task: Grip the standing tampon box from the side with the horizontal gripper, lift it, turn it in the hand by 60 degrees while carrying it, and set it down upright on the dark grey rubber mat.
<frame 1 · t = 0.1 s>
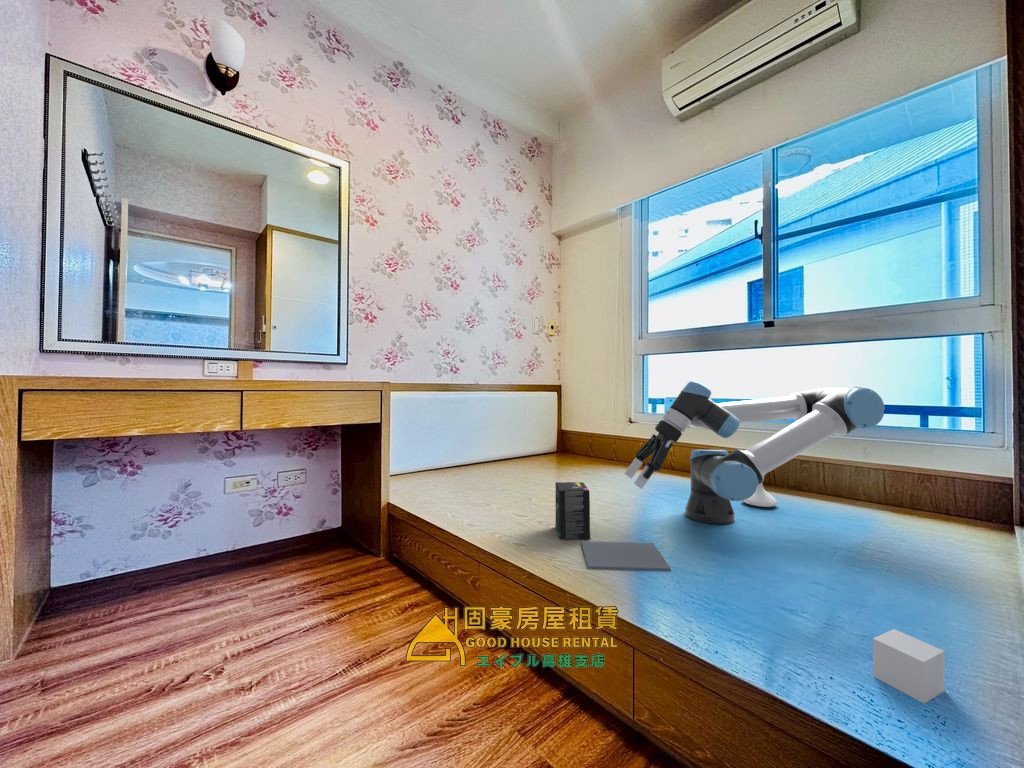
hand: (632, 480, 128), 15 cm above the table, tool tilted 35°, fingers open, 13 cm apart
flower in vase: (761, 505, 153), on the table
white rectangular block: (908, 685, 62), on the table
rubber mat: (622, 556, 108), on the table
tampon box: (572, 534, 125), on the table
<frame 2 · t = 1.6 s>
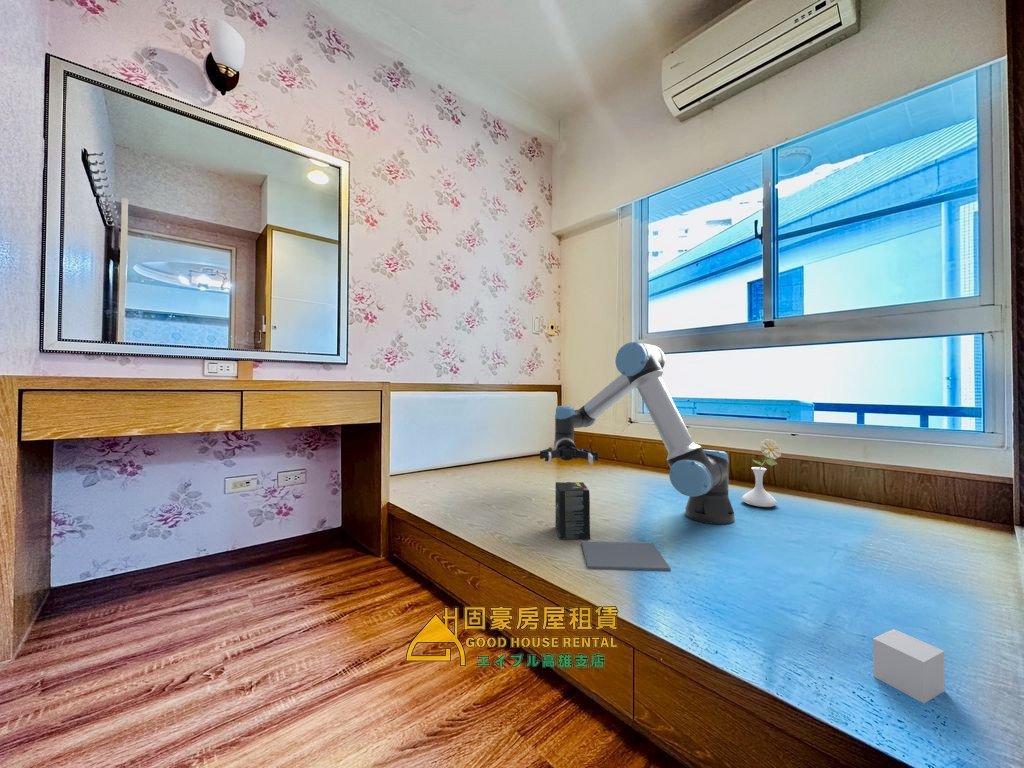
hand: (571, 460, 134), 21 cm above the table, tool horizontal, fingers open, 13 cm apart
nothing on the table moved.
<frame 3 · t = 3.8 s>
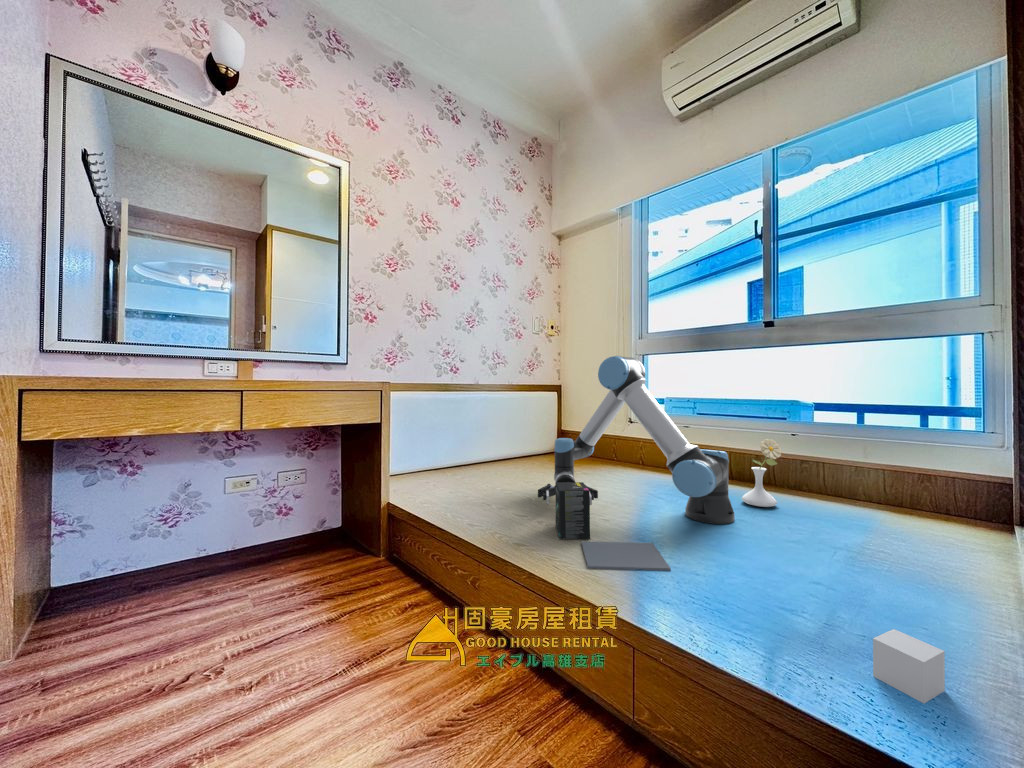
hand: (569, 500, 131), 8 cm above the table, tool horizontal, fingers open, 13 cm apart
nothing on the table moved.
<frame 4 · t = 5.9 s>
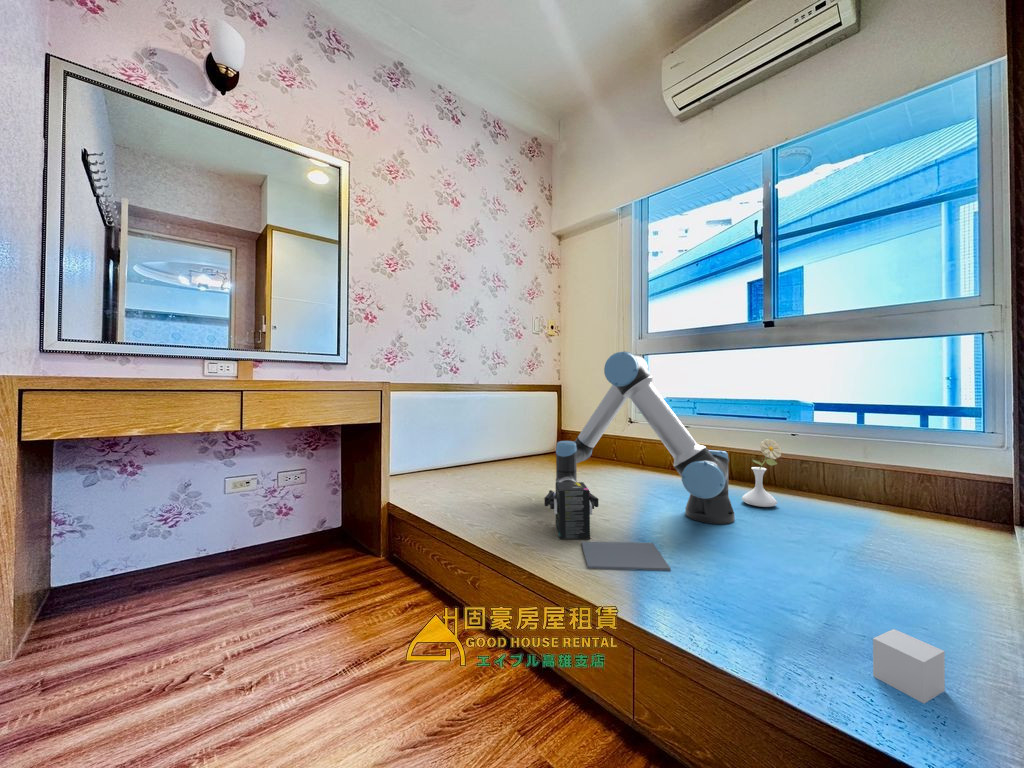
hand: (573, 509, 121), 9 cm above the table, tool horizontal, fingers closed on tampon box, 9 cm apart
tampon box: (572, 533, 125), on the table, touching gripper
everything else where it was.
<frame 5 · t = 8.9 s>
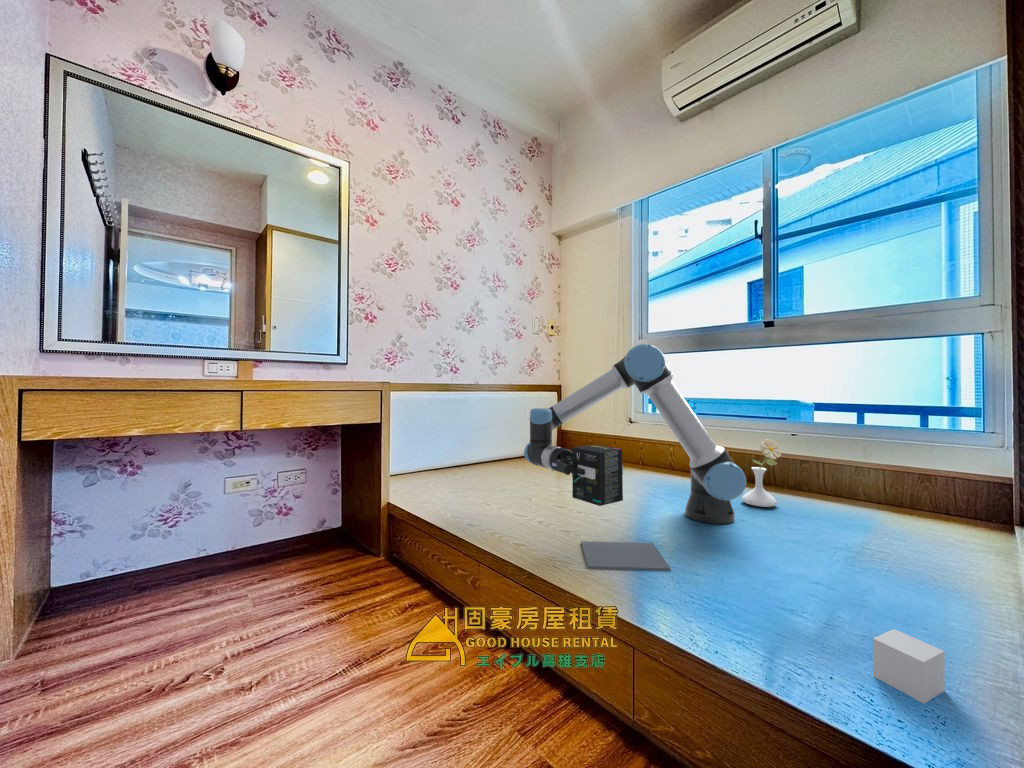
hand: (608, 472, 111), 22 cm above the table, tool horizontal, fingers closed on tampon box, 9 cm apart
tampon box: (597, 500, 115), point 13 cm above the table, touching gripper
everything else where it was.
when the fingers open (10 cm above the table, at t = 12.1 s): tampon box drops 1 cm, resting on rubber mat.
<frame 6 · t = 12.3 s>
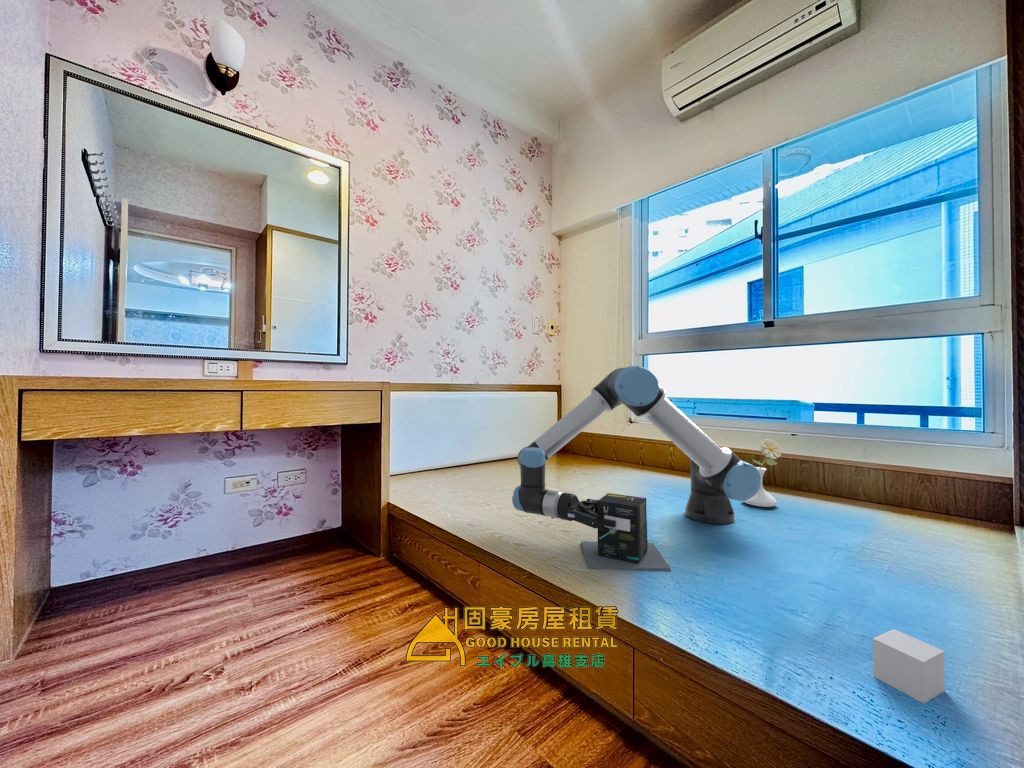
hand: (637, 519, 106), 10 cm above the table, tool horizontal, fingers open, 11 cm apart
tampon box: (622, 554, 108), resting on rubber mat
everything else where it was.
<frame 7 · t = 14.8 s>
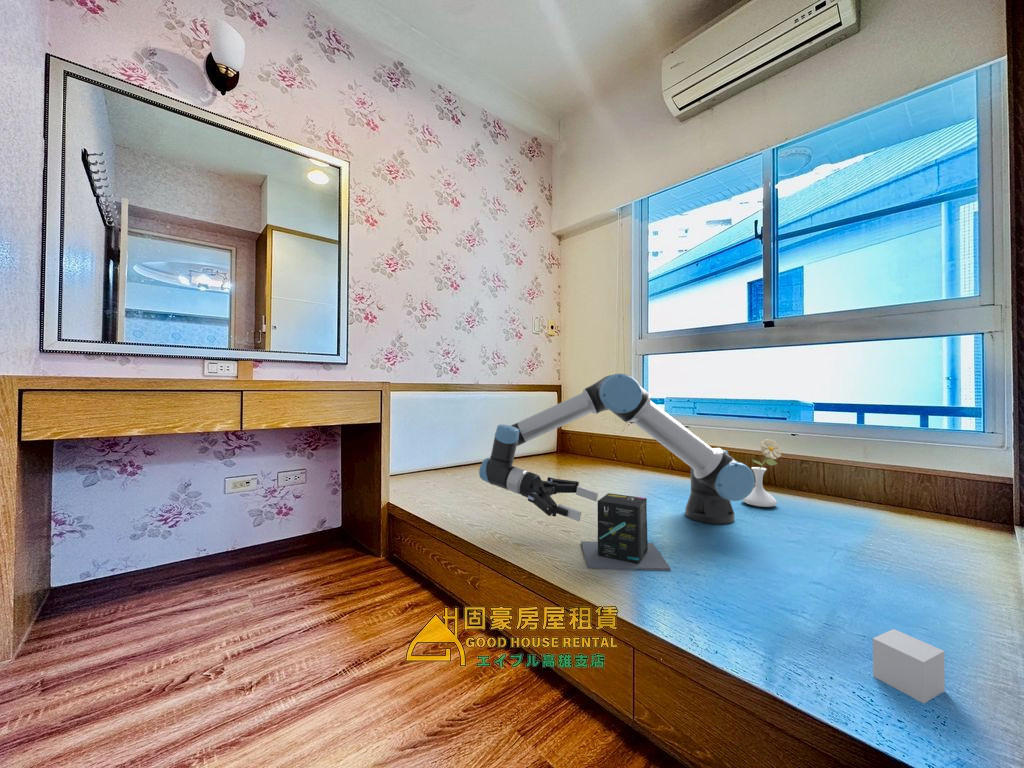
hand: (589, 506, 116), 11 cm above the table, tool horizontal, fingers open, 13 cm apart
nothing on the table moved.
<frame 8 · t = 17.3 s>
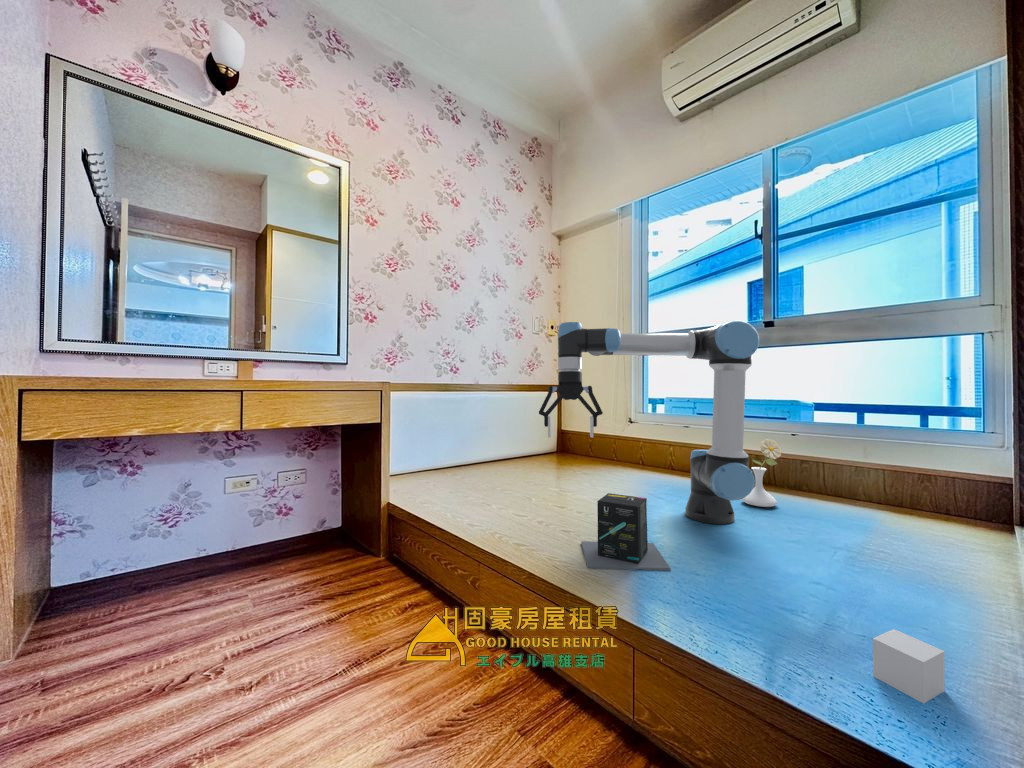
hand: (570, 437, 131), 29 cm above the table, tool pointing down, fingers open, 13 cm apart
nothing on the table moved.
at the end: tampon box inside the target area on the rubber mat (0.1 cm from its centre), point 0.4 cm above the rubber mat's base; tampon box tilted 0°; the gripper is holding nothing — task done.
